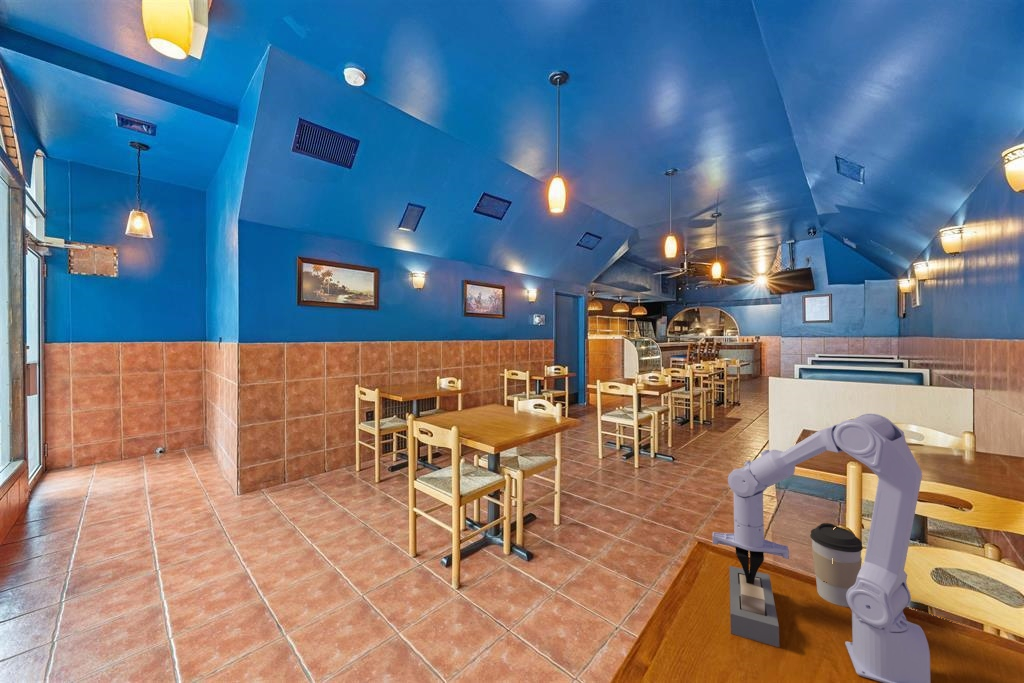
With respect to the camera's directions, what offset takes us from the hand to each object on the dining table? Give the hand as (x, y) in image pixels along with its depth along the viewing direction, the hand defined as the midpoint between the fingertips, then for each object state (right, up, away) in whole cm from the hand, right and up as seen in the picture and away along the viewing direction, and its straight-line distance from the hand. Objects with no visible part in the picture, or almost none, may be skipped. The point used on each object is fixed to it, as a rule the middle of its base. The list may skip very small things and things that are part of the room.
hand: (749, 581), depth 88 cm
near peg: (-4, -1, -8) cm, 9 cm away
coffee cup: (+19, -4, 0) cm, 20 cm away
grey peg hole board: (-2, -4, -4) cm, 6 cm away
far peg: (0, -4, 0) cm, 4 cm away
